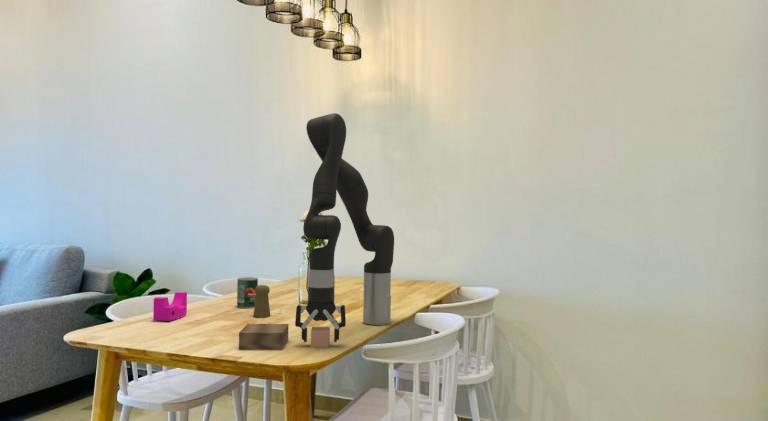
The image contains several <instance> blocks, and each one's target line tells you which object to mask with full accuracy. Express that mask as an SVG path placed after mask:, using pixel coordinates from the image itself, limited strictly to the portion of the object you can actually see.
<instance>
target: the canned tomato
mask: <svg viewBox="0 0 768 421" xmlns="http://www.w3.org/2000/svg"><path fill="white" fill-rule="evenodd" d="M236 280H237V284H236V285H237V290H236V292H237V294H236V295H237V297H236V307H237V308H240V309H251V308H252V309H254V308H255V301H256V293H255V288H256V286H259V285H258V280H259V278H258V277H238V278H236Z"/></svg>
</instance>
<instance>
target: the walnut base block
mask: <svg viewBox="0 0 768 421" xmlns="http://www.w3.org/2000/svg"><path fill="white" fill-rule="evenodd" d="M288 341H289V323H246V325H245V326H244V327H243V328H242V329H241V330H240V331H239V333H238V350H239V351H240V350H241V351H242V350H243V351H244V350H245V351H246V350H247V351H249V350H251V351H254V350H255V351H257V350H258V351H259V350H260V351H264V350H265V351H273V350H274V351H282V350H284V349H285V347H286V344H287V343H288Z"/></svg>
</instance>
